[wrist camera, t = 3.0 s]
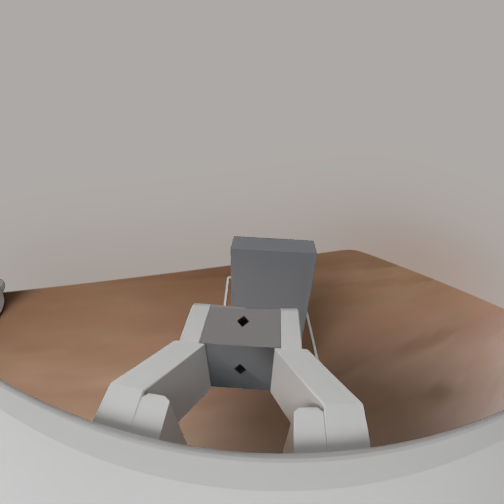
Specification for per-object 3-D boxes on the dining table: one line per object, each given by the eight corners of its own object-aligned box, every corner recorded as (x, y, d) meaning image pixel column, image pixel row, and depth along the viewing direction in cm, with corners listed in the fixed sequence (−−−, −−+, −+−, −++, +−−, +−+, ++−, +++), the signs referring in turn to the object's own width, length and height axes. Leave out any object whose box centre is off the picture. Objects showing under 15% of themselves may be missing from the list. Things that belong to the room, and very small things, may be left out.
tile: (233, 374, 27) (230, 248, 20) (235, 356, 29) (235, 233, 22) (293, 377, 26) (316, 253, 20) (292, 359, 29) (312, 238, 22)
